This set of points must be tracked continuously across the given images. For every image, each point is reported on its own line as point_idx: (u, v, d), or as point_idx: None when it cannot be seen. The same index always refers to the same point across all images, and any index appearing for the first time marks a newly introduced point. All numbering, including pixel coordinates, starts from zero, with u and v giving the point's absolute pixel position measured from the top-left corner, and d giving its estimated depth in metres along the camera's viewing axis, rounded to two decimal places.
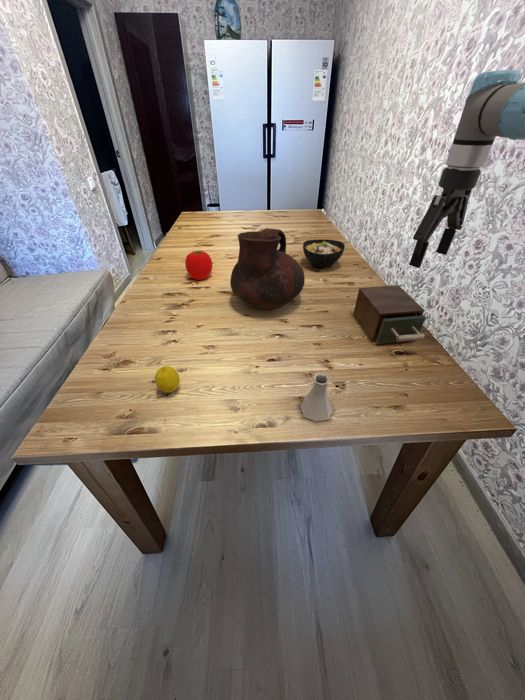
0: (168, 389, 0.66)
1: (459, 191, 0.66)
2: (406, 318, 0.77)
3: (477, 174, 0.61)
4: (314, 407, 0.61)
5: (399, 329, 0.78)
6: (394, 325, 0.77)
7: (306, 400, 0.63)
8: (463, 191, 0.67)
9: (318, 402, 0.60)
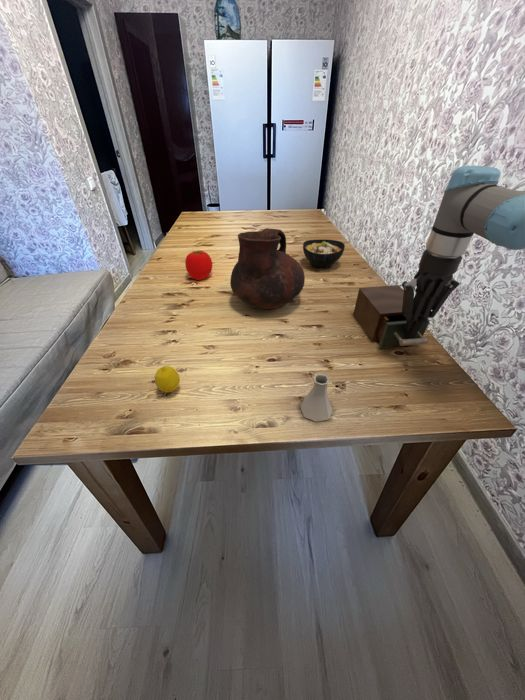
0: (168, 389, 0.66)
1: None
2: None
3: (449, 263, 0.58)
4: (314, 407, 0.61)
5: (402, 333, 0.77)
6: (397, 329, 0.76)
7: (306, 400, 0.63)
8: None
9: (318, 402, 0.60)
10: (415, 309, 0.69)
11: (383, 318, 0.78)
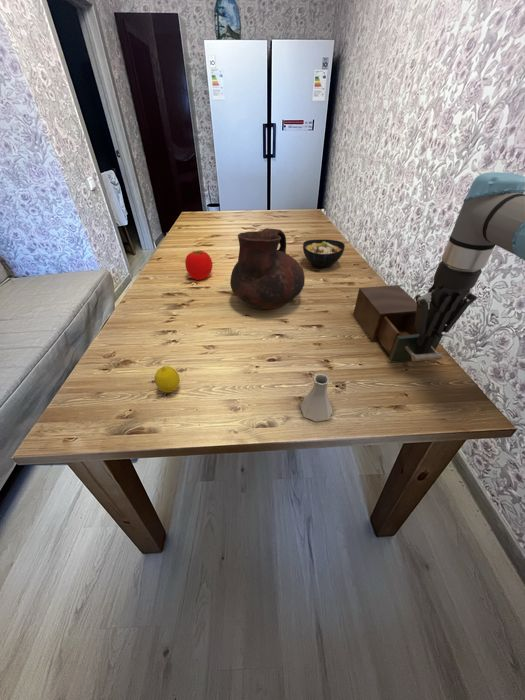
0: (168, 389, 0.66)
1: None
2: None
3: (468, 277, 0.54)
4: (314, 407, 0.61)
5: (414, 346, 0.72)
6: (409, 343, 0.71)
7: (306, 400, 0.63)
8: None
9: (318, 402, 0.60)
10: (429, 324, 0.64)
11: (393, 331, 0.73)
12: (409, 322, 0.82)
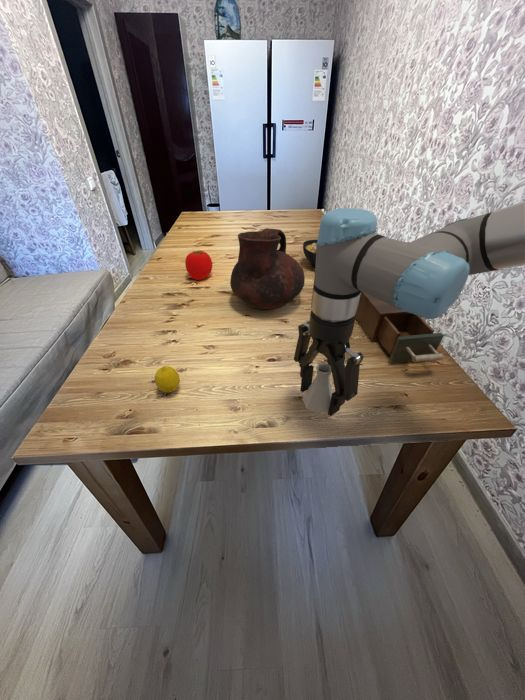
0: (168, 389, 0.66)
1: None
2: (423, 336, 0.70)
3: (314, 321, 0.47)
4: (317, 398, 0.59)
5: (414, 347, 0.72)
6: (409, 343, 0.71)
7: (309, 391, 0.60)
8: (335, 343, 0.49)
9: (321, 392, 0.58)
10: None
11: (394, 332, 0.73)
12: (409, 323, 0.81)
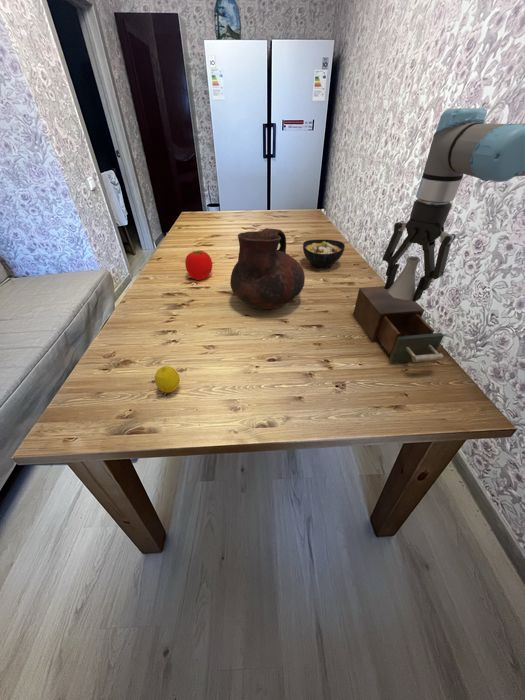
0: (168, 389, 0.66)
1: (425, 224, 0.64)
2: (423, 336, 0.70)
3: (420, 207, 0.61)
4: (404, 287, 0.73)
5: (414, 347, 0.72)
6: (409, 343, 0.71)
7: (395, 283, 0.75)
8: (433, 227, 0.63)
9: (408, 280, 0.72)
10: None
11: (394, 332, 0.73)
12: (409, 323, 0.81)
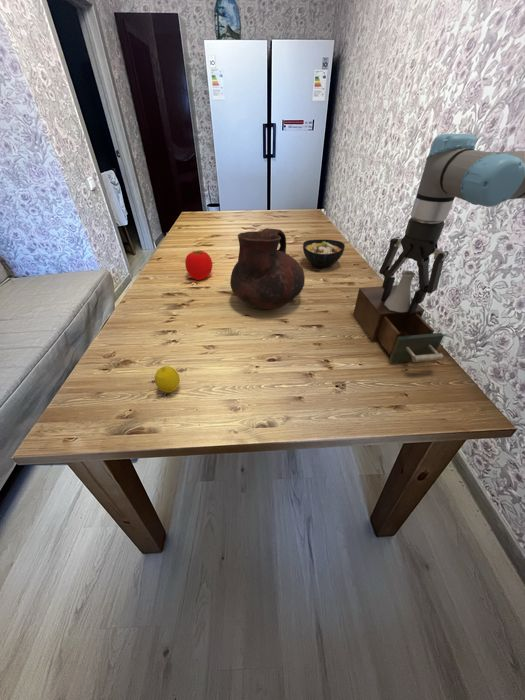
0: (168, 389, 0.66)
1: (419, 241, 0.67)
2: (423, 336, 0.70)
3: (414, 225, 0.64)
4: (400, 299, 0.76)
5: (414, 347, 0.72)
6: (409, 343, 0.71)
7: (391, 296, 0.77)
8: (427, 244, 0.66)
9: (404, 294, 0.75)
10: None
11: (394, 332, 0.73)
12: (409, 323, 0.81)
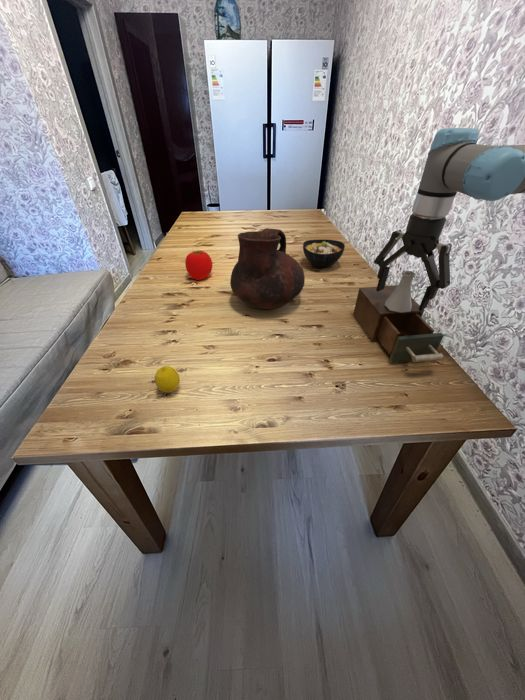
0: (168, 389, 0.66)
1: (420, 237, 0.66)
2: (423, 336, 0.70)
3: (415, 221, 0.63)
4: (400, 300, 0.76)
5: (414, 347, 0.72)
6: (409, 343, 0.71)
7: (392, 296, 0.77)
8: (428, 240, 0.65)
9: (404, 294, 0.75)
10: (388, 258, 0.75)
11: (394, 332, 0.73)
12: (409, 323, 0.81)
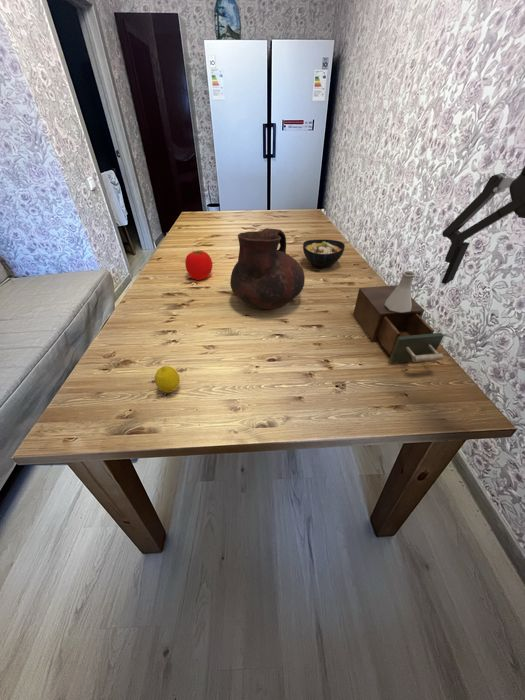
0: (168, 389, 0.66)
1: None
2: (423, 336, 0.70)
3: None
4: (400, 300, 0.76)
5: (414, 347, 0.72)
6: (409, 343, 0.71)
7: (392, 296, 0.77)
8: None
9: (404, 294, 0.75)
10: None
11: (394, 332, 0.73)
12: (409, 323, 0.81)
